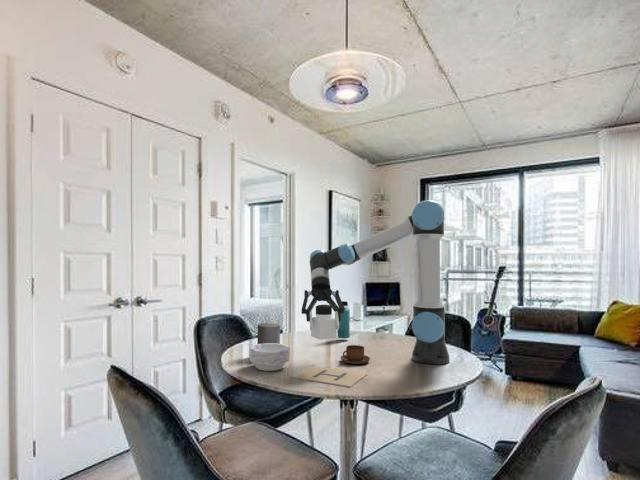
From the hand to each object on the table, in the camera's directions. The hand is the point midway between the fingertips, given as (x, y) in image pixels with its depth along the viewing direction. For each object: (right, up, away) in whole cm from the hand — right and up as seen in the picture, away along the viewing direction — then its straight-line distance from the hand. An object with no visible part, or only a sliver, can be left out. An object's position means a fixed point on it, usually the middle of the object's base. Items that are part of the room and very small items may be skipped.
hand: (324, 327), depth 145 cm
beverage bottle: (+10, -20, +59) cm, 63 cm away
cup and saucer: (+13, -18, +16) cm, 27 cm away
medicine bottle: (0, -4, +3) cm, 5 cm away
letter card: (+2, -16, -4) cm, 17 cm away
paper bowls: (-21, -17, +6) cm, 27 cm away
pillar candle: (-24, -18, +23) cm, 37 cm away
